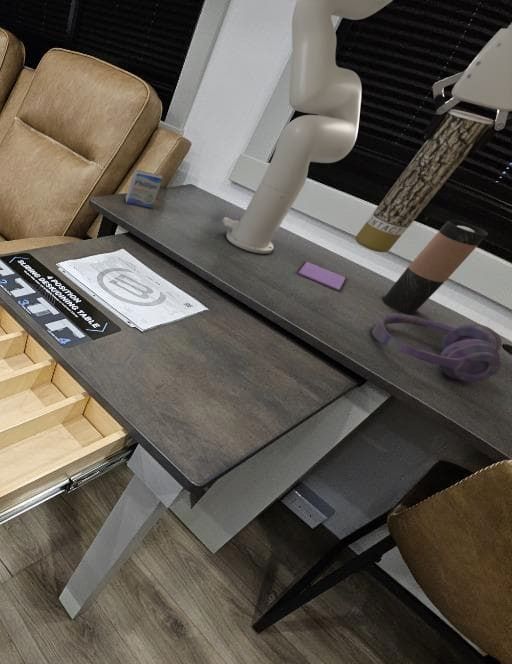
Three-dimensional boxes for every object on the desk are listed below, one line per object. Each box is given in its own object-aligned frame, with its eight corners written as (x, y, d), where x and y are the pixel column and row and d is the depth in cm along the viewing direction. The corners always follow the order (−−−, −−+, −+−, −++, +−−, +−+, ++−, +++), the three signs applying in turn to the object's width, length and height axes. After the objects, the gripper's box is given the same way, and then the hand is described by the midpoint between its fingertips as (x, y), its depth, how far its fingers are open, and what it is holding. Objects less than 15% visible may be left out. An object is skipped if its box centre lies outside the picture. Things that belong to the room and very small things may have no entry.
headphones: (485, 360, 95) (373, 326, 106) (513, 326, 90) (393, 293, 101) (481, 397, 84) (357, 355, 95) (513, 361, 79) (378, 320, 90)
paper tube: (357, 235, 100) (452, 108, 83) (390, 249, 97) (496, 120, 80) (349, 242, 96) (447, 109, 79) (383, 256, 93) (493, 122, 76)
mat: (297, 273, 116) (298, 272, 115) (305, 262, 122) (306, 261, 122) (338, 290, 112) (339, 289, 111) (344, 278, 118) (345, 277, 118)
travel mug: (422, 317, 108) (496, 238, 94) (390, 309, 108) (459, 229, 95) (407, 300, 114) (475, 224, 100) (376, 293, 114) (440, 216, 101)
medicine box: (125, 203, 135) (136, 173, 129) (125, 198, 138) (135, 168, 132) (151, 208, 135) (163, 179, 129) (150, 203, 138) (161, 174, 132)
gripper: (608, 37, 70) (502, 159, 82) (478, 13, 77) (398, 128, 89) (618, 35, 65) (504, 165, 77) (478, 10, 72) (394, 132, 84)
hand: (448, 144), depth 83 cm, fingers closed on paper tube, 6 cm apart
